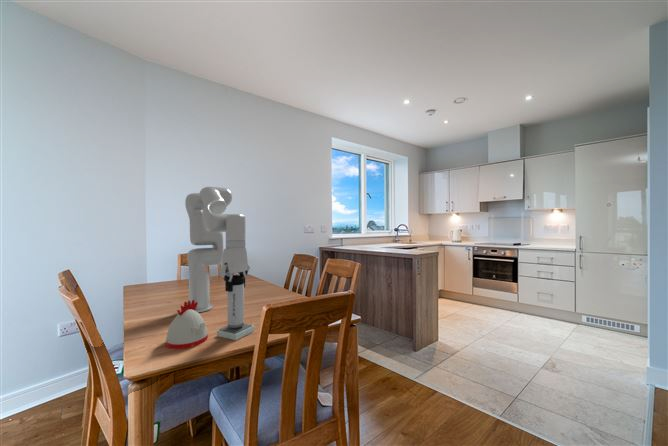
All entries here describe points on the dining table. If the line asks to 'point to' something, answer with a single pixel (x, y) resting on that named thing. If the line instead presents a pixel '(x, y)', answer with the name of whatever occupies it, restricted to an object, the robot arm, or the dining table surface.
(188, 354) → the dining table surface
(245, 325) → the stand
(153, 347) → the dining table surface
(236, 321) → the travel mug
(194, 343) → the kitchen timer
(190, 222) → the robot arm
